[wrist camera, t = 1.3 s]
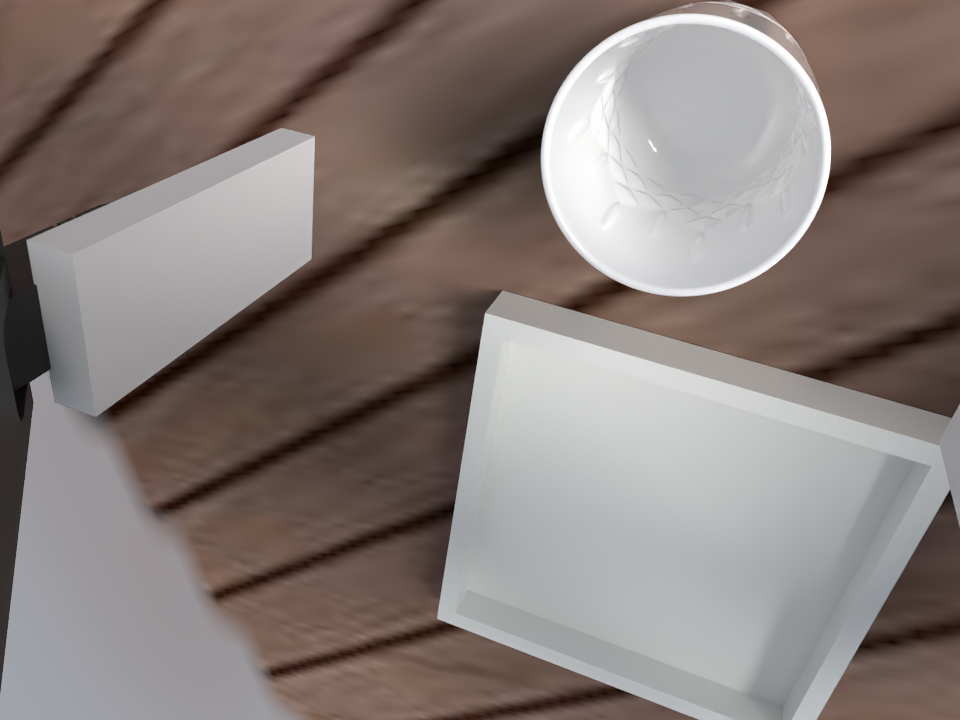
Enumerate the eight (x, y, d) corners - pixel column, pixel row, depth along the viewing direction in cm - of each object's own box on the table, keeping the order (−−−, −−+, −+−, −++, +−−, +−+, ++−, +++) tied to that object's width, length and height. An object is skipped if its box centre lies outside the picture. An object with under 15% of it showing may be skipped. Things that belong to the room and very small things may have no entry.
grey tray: (960, 420, 33) (970, 454, 31) (795, 716, 44) (795, 756, 42) (502, 290, 38) (485, 313, 36) (452, 588, 48) (437, 618, 46)
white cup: (620, 205, 34) (560, 302, 26) (597, 3, 31) (519, 40, 22) (825, 188, 31) (831, 291, 23) (824, -39, 28) (830, -13, 19)
